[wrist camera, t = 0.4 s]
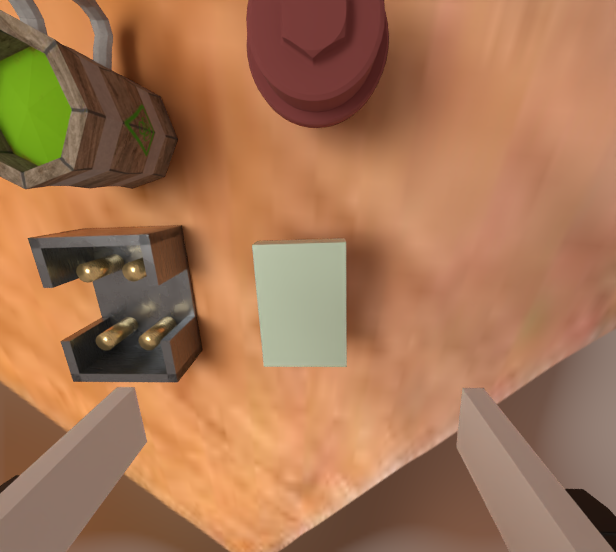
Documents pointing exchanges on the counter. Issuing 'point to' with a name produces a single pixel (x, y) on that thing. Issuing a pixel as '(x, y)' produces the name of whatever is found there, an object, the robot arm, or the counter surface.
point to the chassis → (126, 301)
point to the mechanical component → (316, 56)
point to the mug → (74, 110)
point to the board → (302, 301)
